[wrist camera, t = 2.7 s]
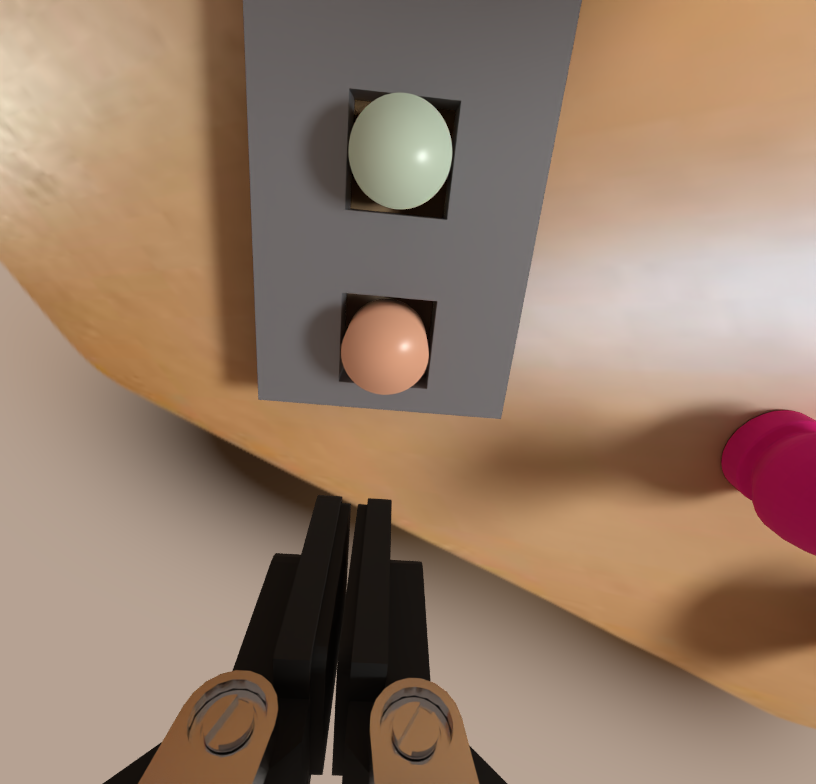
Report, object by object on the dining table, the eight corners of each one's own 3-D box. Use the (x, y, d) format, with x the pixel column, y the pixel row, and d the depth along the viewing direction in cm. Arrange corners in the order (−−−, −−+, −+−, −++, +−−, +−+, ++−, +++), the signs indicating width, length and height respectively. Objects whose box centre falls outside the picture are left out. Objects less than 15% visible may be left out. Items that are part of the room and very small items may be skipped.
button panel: (253, -223, 18) (231, -284, 16) (598, -174, 19) (625, -226, 16) (270, 383, 28) (258, 399, 26) (492, 401, 29) (500, 419, 26)
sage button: (357, 101, 21) (350, 86, 18) (451, 111, 21) (458, 98, 19) (353, 203, 23) (346, 204, 20) (440, 212, 23) (445, 214, 20)
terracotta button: (349, 295, 25) (342, 307, 22) (430, 302, 25) (433, 315, 22) (346, 370, 26) (339, 391, 24) (421, 377, 26) (423, 398, 24)
